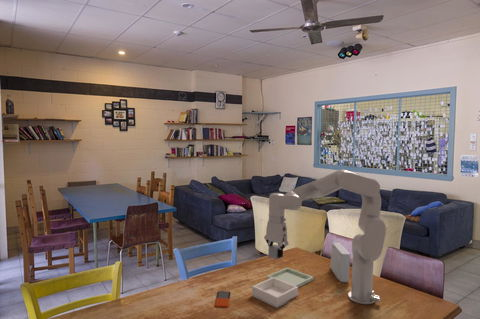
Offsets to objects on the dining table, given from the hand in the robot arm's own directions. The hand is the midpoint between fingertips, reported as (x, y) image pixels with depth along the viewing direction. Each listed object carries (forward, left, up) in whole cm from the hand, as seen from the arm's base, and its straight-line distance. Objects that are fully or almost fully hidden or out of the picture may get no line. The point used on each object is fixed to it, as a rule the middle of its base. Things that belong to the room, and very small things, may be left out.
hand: (275, 255), depth 161 cm
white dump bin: (0, 0, -21) cm, 21 cm away
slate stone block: (0, 0, -1) cm, 1 cm away
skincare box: (-8, -48, -21) cm, 53 cm away
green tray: (+6, -20, -21) cm, 30 cm away
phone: (+15, +21, -22) cm, 34 cm away
